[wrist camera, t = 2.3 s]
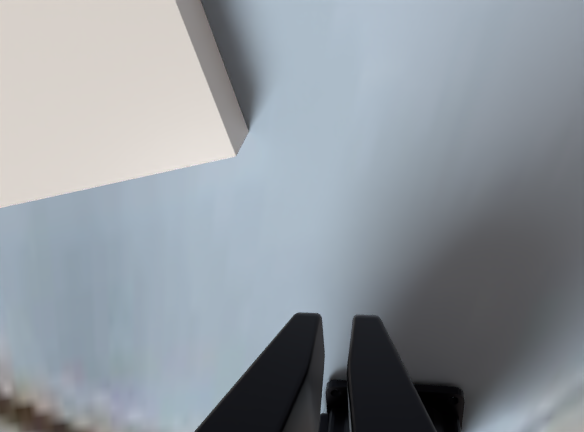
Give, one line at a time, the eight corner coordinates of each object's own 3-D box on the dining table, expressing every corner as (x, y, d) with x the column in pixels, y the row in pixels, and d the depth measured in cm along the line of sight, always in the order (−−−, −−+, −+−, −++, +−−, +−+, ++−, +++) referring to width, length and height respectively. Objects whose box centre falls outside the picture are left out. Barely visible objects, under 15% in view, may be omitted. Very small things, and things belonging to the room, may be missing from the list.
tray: (179, -71, 18) (151, -61, 16) (251, 126, 21) (236, 156, 19) (-173, 55, 22) (-231, 76, 20) (-67, 201, 26) (-108, 231, 24)
